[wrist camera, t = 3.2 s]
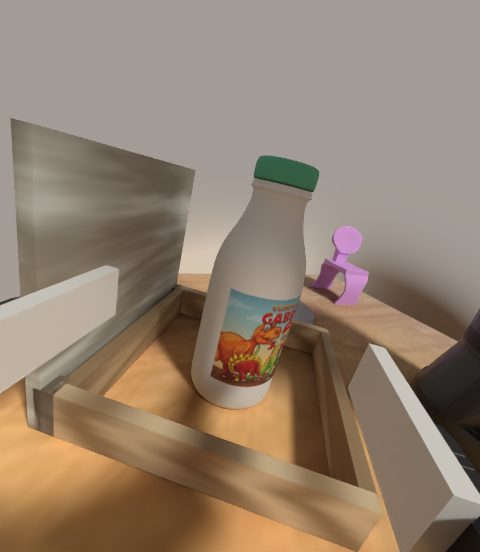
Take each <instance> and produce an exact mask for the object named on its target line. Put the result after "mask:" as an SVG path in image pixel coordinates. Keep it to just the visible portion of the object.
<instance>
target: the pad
mask: <svg viewBox="0 0 480 552" xmlns="http://www.w3.org/2000/svg"><path fill="white" fill-rule="evenodd" d="M293 319H295V320H298V321H301V322H305V323H308V324H311V325H313V322H314V314H313V313H312V311H311V310H310V309H309V308H308V307H307V306H306V305H305V304H304V303H302V302H301V301H299V302H298V306H297V309H296V312H295V315H294V318H293Z"/></svg>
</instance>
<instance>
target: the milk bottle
mask: <svg viewBox="0 0 480 552" xmlns="http://www.w3.org/2000/svg"><path fill="white" fill-rule="evenodd" d="M318 177H319V171H318V170H317V169H316V168H314V167H312V166H310V165H307V164H304V163H301V162H298V161H293V160H289V159H285V158H281V157H274V156H260V157H259V158H258V160H257V163H256V167H255V172H254V178H255V179H254V180H253V183H252V186H253V194H252V197H251V200H250V202H249V204H248V206H247V208H246V210H245V212H244V214H243V215H242V217H241V218H240V220H239V221H238V223H237V224H236V226H235V227H234V228H233V229H232V231H231V232H230V233H229V235H228V236H227V238H226V239H225V240H224V242H223V244H222V246H221V248H220V250H219V252H218V254H217V257H216V260H215V263H214V267H213V271H212V274H211V278H210V282H209V287H208V291H207V296H206V300H205V305H204V309H203V314H202V318H201V323H200V328H199V332H198V337H197V342H196V346H195V351H194V356H193V361H192V367H191V378H192V381H193V384H194V386H195V388H196V390H197V391H198V392H199V393H200V395H201V396H202V397H204V398H205V399H206V400H207V401H209V402H211V403H212V404H214V405H216V406H219V407H221V408H226V409H230V410H241V409H247V408H250V407H253V406H254V405H256V404H258V403H259V402H260V401H261V400H262V399H263V398H264V397H265V396H266V394H267V392H268V389H269V387H270V384H271V382H272V379H273V376H274V373H275V370H276V367H277V364H278V362H279V359H280V356H281V353H282V350H283V347H284V344H285V341H286V338H287V336H288V333H289V330H290V327H291V324H292V321H293V318H294V315H295V312H296V309H297V306H298V302H299V299H300V296H301V292H302V289H303V285H304V280H305V272H306V256H305V247H304V239H303V238H304V237H303V221H304V212H305V207H306V204H307V202H308V201H310V200H311V196H312V192H313V191H314V190H315V187H316V184H317V181H318Z"/></svg>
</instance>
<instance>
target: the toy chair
mask: <svg viewBox="0 0 480 552" xmlns="http://www.w3.org/2000/svg"><path fill="white" fill-rule="evenodd" d="M332 242H333V244H334V246H335V247H336V249H335V253H334V257H333V260H330V259H325V261H324V263H323V264H322V266H321V272H320V274H319V276H318V278H317V279H316V280H315V282H314V283H313V284H312V285H311V286H310V287H315V288H330V289H331V287H332V283H333V280H334V278H335V276H336V275H337V274H338V273H339V272H342V273H343V274H344V276H345V289H344V292H343V293H342V295H341V296H340V297H339V298H338V299H337V300H336V301H335V302H334V304H347V305H356V304H357V301H358V298H359V296H360V293H361V291H362V290H363V288H364V286H365V284H366V283H367V280H368V277H367V276H368V274H369V272H367V271H365V270H363V269H360V268H358V267H356V266H354V265H352V264H350V263H348V262H346V259H347V256H348V255H349V254H351V253H354V252H357V250H358V249H359V247H360V245H361V243H362V235H361V234H360V233H359V232H358V231H357V230H356V229H354V228H353V227H349V226H343V227H341V228H339V229H338V230H337V231H335V233H334V234H333V237H332Z"/></svg>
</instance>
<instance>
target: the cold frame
mask: <svg viewBox="0 0 480 552" xmlns="http://www.w3.org/2000/svg"><path fill="white" fill-rule="evenodd" d="M11 133H12V151H13V169H14V185H15V186H14V187H15V205H16V221H17V222H16V223H17V240H18V259H19V276H20V295H21V296H26V295H29V294H31V293H34V292H36V291H39V290H42V289H44V288H47V287H50V286H52V285H55V284H58V283H60V282H63V281H65V280H68V279H71V278H73V277H76V276H79V275H81V274H84V273H86V272H89V271H92V270H94V269H97V268H100V267H102V266H105V265H107V266H111V267H114V268H117V269H119V277H118V289H117V302H116V314H115V315H114V316H112V317H111V318H109V319H108V320H107V321H105V322H104V323H102V324H101V325H99V326H98V327H96V328H95V329H93V330H92V331H91V332H89V333H88V334H86V335H85V336H83V337H82V338H80V339H79V340H77V341H76V342H75V343H73V344H72V345H70V346H69V347H67V348H66V349H64V350H63V351H61V352H60V353H59V354H57V355H56V356H54V357H53V358H51V359H50V360H48V361H47V362H45V363H44V364H43V365H41V366H40V367H38V368H37V369H35V370H34V371H32V372H31V373H30V374H28V375H27V376H25V384H26V402H27V420H28V427H30V428H33V429H35V430H38V431H41V432H43V433H46V434H48V435H51V436H54V437H56V438H59V439H62V440H64V441H67V442H70V443H72V444H75V445H77V446H80V447H83V448H85V449H88V450H91V451H93V452H96V453H98V454H101V455H104V456H106V457H109V458H112V459H114V460H117V461H120V462H122V463H125V464H127V465H130V466H133V467H135V468H138V469H141V470H143V471H146V472H148V473H151V474H154V475H156V476H159V477H162V478H164V479H167V480H170V481H172V482H175V483H177V484H180V485H183V486H185V487H188V488H191V489H193V490H196V491H198V492H201V493H204V494H206V495H209V496H212V497H214V498H217V499H220V500H222V501H225V502H227V503H230V504H233V505H235V506H238V507H241V508H243V509H246V510H248V511H251V512H254V513H256V514H259V515H262V516H264V517H267V518H270V519H272V520H275V521H277V522H280V523H283V524H285V525H288V526H291V527H293V528H296V529H298V530H301V531H304V532H306V533H309V534H312V535H314V536H317V537H320V538H322V539H325V540H327V541H330V542H333V543H335V544H338V545H341V546H343V547H346V548H348V549H351V550H354V551H356V552H358V550H359V549H360V548H361V546H362V545H363V543H364V542H365V540H366V539H367V537H368V536H369V534H370V533H371V531H372V530H373V528H374V527H375V525H376V524H377V523H378V521H379V520H380V518H381V517H382V515H383V513H382V510H381V507H380V503H379V500H378V496H377V493H376V490H375V486H374V483H373V480H372V476H371V473H370V469H369V466H368V463H367V459H366V456H365V453H364V449H363V446H362V442H361V439H360V436H359V432H358V429H357V426H356V422H355V419H354V416H353V412H352V409H351V405H350V402H349V399H348V395H347V392H346V389H345V385H344V382H343V378H342V375H341V372H340V368H339V365H338V362H337V358H336V355H335V352H334V348H333V345H332V341H331V338H330V335H329V331H328V329H325V328H321V327H318V326H315V325H311V324H308V323H305V322H301V321H298V320H295V319H293V321H292V324H291V327H290V330H289V333H288V336H287V338H286V341H285V344H284V346H287V347H290V348H293V349H297V350H300V351H303V352H306V353H310V354H312V359H313V365H314V372H315V379H316V386H317V392H318V399H319V406H320V413H321V419H322V426H323V433H324V440H325V447H326V453H327V460H328V467H329V474H330V477H328V476H325V475H322V474H319V473H317V472H314V471H311V470H308V469H305V468H303V467H300V466H297V465H294V464H291V463H289V462H286V461H283V460H280V459H277V458H274V457H272V456H269V455H266V454H263V453H260V452H258V451H255V450H252V449H249V448H246V447H244V446H241V445H238V444H235V443H232V442H230V441H227V440H224V439H221V438H218V437H215V436H213V435H210V434H207V433H204V432H201V431H199V430H196V429H193V428H190V427H187V426H185V425H182V424H179V423H176V422H173V421H170V420H168V419H165V418H162V417H159V416H156V415H154V414H151V413H148V412H145V411H142V410H140V409H137V408H134V407H131V406H128V405H125V404H123V403H120V402H117V401H114V400H111V399H109V398H106V397H103V395H104V394H105V393H106V392H107V391H108V390H109V389H110V388H111V387H112V385H113V384H114V383H115V382H116V381H117V380H118V379H119V378H120V377H121V376H122V375H123V374H124V373H125V372H126V370H127V369H128V368H129V367H130V366H131V365H132V364H133V363H134V362H135V361H136V360H137V359H138V358H139V357H140V355H141V354H142V353H143V352H144V351H145V350H146V349H147V348H148V347H149V346H150V345H151V344H152V343H153V342H154V340H155V339H156V338H157V337H158V336H159V335H160V334H161V333H162V332H163V331H164V330H165V329H166V328H167V327H168V325H169V324H170V323H171V322H172V321H173V320H174V319H175V318H176V317H177V316H178V315H179V314H180V313H181V314H184V315H187V316H191V317H194V318H197V319H200V320H201V318H202V314H203V309H204V305H205V300H206V296H207V293H205V292H201V291H198V290H195V289H191V288H188V287H185V286H181V285H178V284H177V278H178V271H179V266H180V260H181V254H182V248H183V241H184V236H185V230H186V224H187V218H188V212H189V206H190V200H191V194H192V188H193V182H194V176H195V170H193V169H189V168H186V167H182V166H179V165H175V164H172V163H168V162H165V161H161V160H158V159H154V158H151V157H147V156H144V155H140V154H137V153H133V152H130V151H126V150H122V149H119V148H116V147H112V146H109V145H105V144H102V143H98V142H95V141H91V140H88V139H84V138H81V137H77V136H74V135H70V134H67V133H63V132H60V131H56V130H53V129H49V128H46V127H42V126H39V125H35V124H31V123H27V122H23V121H20V120H15V119H12V118H11Z"/></svg>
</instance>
